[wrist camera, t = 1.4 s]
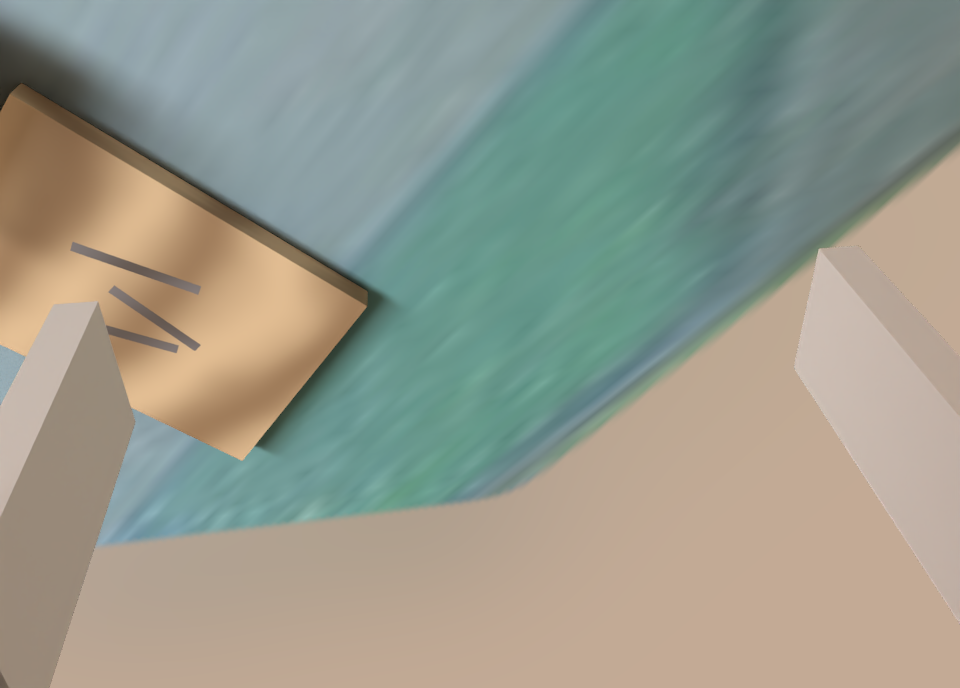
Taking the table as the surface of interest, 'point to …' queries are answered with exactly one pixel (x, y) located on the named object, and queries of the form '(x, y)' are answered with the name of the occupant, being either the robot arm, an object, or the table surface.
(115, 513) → the table surface
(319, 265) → the board
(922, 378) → the robot arm
